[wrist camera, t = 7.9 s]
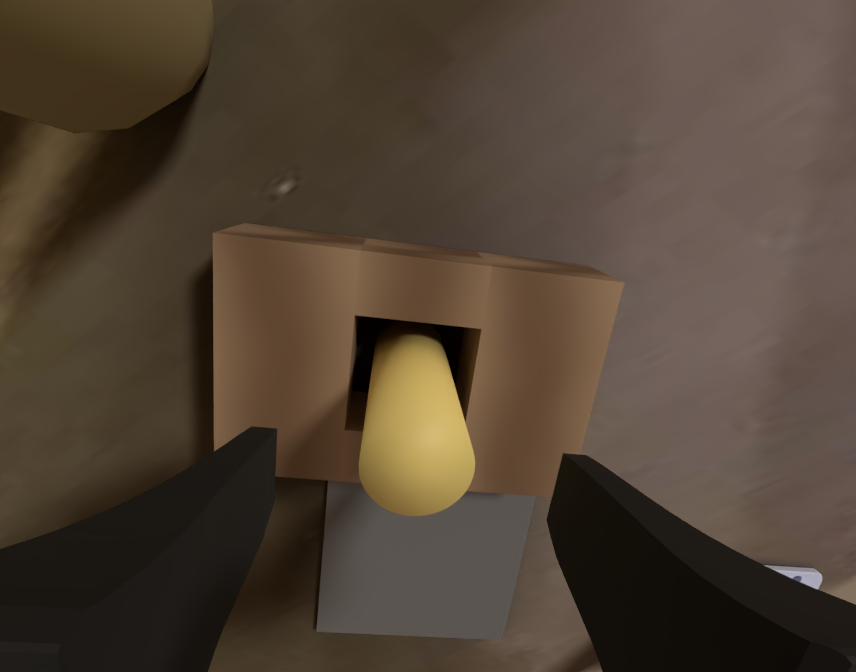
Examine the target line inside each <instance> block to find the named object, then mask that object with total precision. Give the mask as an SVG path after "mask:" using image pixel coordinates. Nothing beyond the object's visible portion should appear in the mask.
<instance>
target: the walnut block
mask: <svg viewBox="0 0 856 672" xmlns="http://www.w3.org/2000/svg"><path fill="white" fill-rule="evenodd" d="M623 286H624V282H622V281H620V280H618V279H616V278H613V277H611V276H609V275H607V274H605V273H602V272H600V271H598V270H596V269H594V268H591V267H589V266H587V265H579V264H571V263H562V262H554V261H546V260H538V259H530V258H522V257H514V256H506V255H498V254H490V253H482V252H474V251H466V250H458V249H450V248H442V247H434V246H426V245H418V244H410V243H402V242H394V241H385V240H377V239H369V238H361V237H353V236H345V235H337V234H329V233H321V232H313V231H305V230H297V229H289V228H281V227H273V226H265V225H257V224H249V223H244V224H241V225H237V226H234V227H230V228H227V229H223V230H220V231H216V232H213V359H214V451H216V450H217V449H219V448H220V447H222V446H223V445H225V444H226V443H227V442H229V441H230V440H232V439H233V438H235V437H236V436H238V435H239V434H241V433H242V432H244V431H245V430H247V429H248V428H250V427H251V426H255V427H266V428H277V450H276V475H275V477H288V478H302V479H315V480H328V481H341V482H355V483H361V480H360V476H359V458H360V450H361V443H362V436H363V429H364V422H365V414H366V407H367V400H368V392H357V391H353V385H354V374H355V363H356V352H357V341H358V330H359V319H360V316H366V317H376V318H385V319H394V320H403V321H412V322H422V323H431V324H440V325H449V326H458V327H464V333H463V339H462V346H461V352H460V358H459V364H458V371H457V377H456V383H455V388H456V392H457V395H458V399H459V402H460V406H461V409H462V413H463V416H464V420H465V423H466V427H467V430H468V434H469V437H470V441H471V445H472V448H473V452H474V456H475V471H474V476H473V479H472V481H471V484H470V486H469V487H468V489H467V491H474V492H487V493H501V494H514V495H527V496H540V497H552V496H553V492H554V488H555V483H556V479H557V475H558V471H559V467H560V463H561V459H562V455H563V453H567V454H578V455H580V453H581V449H582V445H583V442H584V438H585V434H586V430H587V426H588V422H589V418H590V414H591V411H592V407H593V403H594V399H595V395H596V391H597V387H598V383H599V380H600V376H601V372H602V368H603V364H604V360H605V356H606V352H607V349H608V345H609V341H610V337H611V333H612V329H613V325H614V321H615V318H616V314H617V310H618V306H619V302H620V298H621V294H622V290H623Z"/></svg>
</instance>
